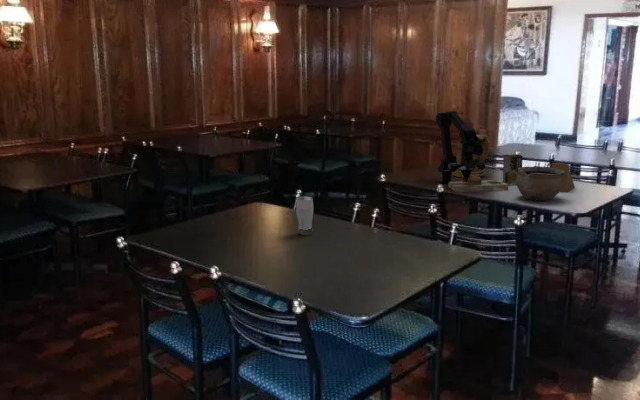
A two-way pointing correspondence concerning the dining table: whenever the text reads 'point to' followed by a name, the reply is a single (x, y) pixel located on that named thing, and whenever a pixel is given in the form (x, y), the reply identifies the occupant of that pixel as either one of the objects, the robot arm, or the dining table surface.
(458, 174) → the tankard
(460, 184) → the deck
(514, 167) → the coffee box
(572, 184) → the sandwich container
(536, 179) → the ceramic bowl
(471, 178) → the block
